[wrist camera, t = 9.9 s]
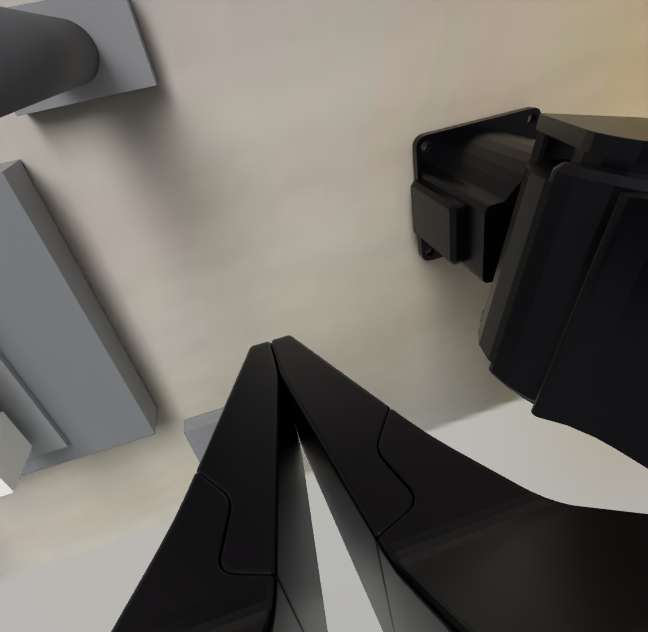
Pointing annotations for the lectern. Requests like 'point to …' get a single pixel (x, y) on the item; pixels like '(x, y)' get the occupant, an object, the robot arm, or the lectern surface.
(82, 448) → the breaker panel
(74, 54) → the grey post on base
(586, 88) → the lectern surface
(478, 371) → the lectern surface
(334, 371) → the robot arm
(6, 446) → the breaker paddles
